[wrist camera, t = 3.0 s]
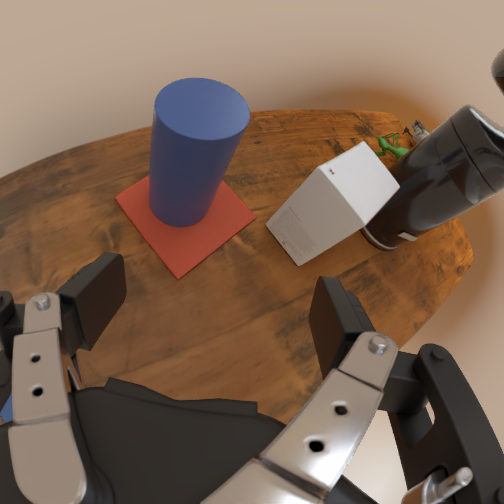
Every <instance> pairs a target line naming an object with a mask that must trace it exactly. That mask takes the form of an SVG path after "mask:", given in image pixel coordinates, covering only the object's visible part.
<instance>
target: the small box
mask: <svg viewBox="0 0 504 504" xmlns="http://www.w3.org/2000/svg"><path fill="white" fill-rule="evenodd" d="M399 188H400V186H399V184H398V183H397V182H396V180H395V179H394V177H393V176H392V175H391V173H390V172H389V171H388V170H387V168H386V167H385V166H384V164H383V163H382V162H381V161H380V160H379V158H378V157H377V156H376V155H375V153H374V152H373V151H372V150H371V149H370V147H369V146H368V145H367V144H366V143H365V142H363V141H362V142H361V143H359V144H358V145H357V146H355V147H353V148H352V149H350V150H348V151H346V152H345V153H343V154H341V155H339V156H337V157H336V158H334V159H332V160H330V161H328V162H326V163H324V164H322V165H320V166H318V167H317V168H316V169H315V170H314V171H313V172H312V173H311V174H310V176H309V177H308V178H307V179H306V180H305V181H304V182H303V183H302V184H301V185H300V186H299V187H298V189H297V190H296V191H295V192H294V193H293V194H292V195H291V196H290V197H289V198H288V199H287V200H286V201H285V203H284V204H283V205H282V206H281V207H280V208H279V209H278V210H277V211H276V213H275V214H274V215H273V216H272V217H271V218H270V219H269V220H268V222H267V223H266V224H265V225H266V226H267V228H268V229H269V230H270V231H271V233H272V234H273V235H274V236H275V238H276V239H277V240H278V242H279V243H280V244H281V245H282V246H283V248H284V249H285V250H286V252H287V253H288V254H289V255H290V257H291V258H292V259H293V260H294V262H295V263H296V264H297V266H301V265H302V264H304V263H306V262H308V261H309V260H311V259H312V258H314V257H316V256H317V255H319V254H321V253H322V252H324V251H326V250H327V249H329V248H331V247H332V246H334V245H335V244H337V243H339V242H340V241H342V240H343V239H345V238H347V237H348V236H350V235H351V234H353V233H355V232H356V231H358V230H359V229H361V228H363V227H364V226H366V225H367V224H368V223H369V221H370V220H371V219H372V218H373V217H374V216H375V215H376V214H377V213H378V212H379V211H380V209H381V208H382V207H383V206H384V205H385V204H386V203H387V202H388V201H389V199H390V198H391V197H392V196H393V195H394V194H395V193H396V192H397V190H398V189H399Z"/></svg>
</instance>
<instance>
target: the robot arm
mask: <svg viewBox="0 0 504 504" xmlns="http://www.w3.org/2000/svg"><path fill="white" fill-rule="evenodd" d="M491 73H492V77H493V80H494V81H495V83H496V85H497V86H498V88H499V89H500V91H501V92H502V94H503V95H504V48H503V49H502V50H501V51H500V52H499V53H498V54H497V55H496V57H495V58H494V60H493V62H492V66H491ZM387 170H388V171H389V172H390V173H391V175H392V176H393V177H394V179H395V180H396V182H397V183H398V184H399V186H400V188H399V189H398V190H397V192H396V193H395V194H394V195H393V196H392V197H391V198H390V199H389V201H388V202H387V203H386V204H385V205H384V206H383V207H382V208H381V209H380V211H379V212H378V213H377V214H376V215H375V216H374V217H373V218H372V219H371V220H370V221H369V223H368V224H367V225H366V226H364V227H363V228H361V231H362V233H363V234H364V235H365V237H366V238H367V239H368V240H369V241H370V242H371V243H372V244H373V245H375V246H376V247H378V248H380V249H382V250H386V251H390V250H393V249H396V248H398V247H399V246H401V245H402V244H404V243H406V242H408V241H415V240H417V239H418V238H416V237H418V236H420V235H422V234H424V233H426V232H428V231H430V230H432V229H434V228H436V227H438V226H440V225H442V224H444V223H445V222H447V221H449V220H451V219H453V218H455V217H457V216H458V215H460V214H462V213H464V212H466V211H468V210H469V209H471V208H473V207H475V206H477V205H478V204H480V203H482V202H483V201H485V200H487V199H489V198H490V197H492V196H493V195H495V194H497V193H498V192H500V191H502V190H504V127H502V126H500V125H499V124H497V123H496V122H494V121H493V120H491V119H490V118H489V117H488V116H486V115H485V114H484V113H483V112H481V111H480V110H479V109H477V108H476V107H474V106H472V105H469V104H468V105H464V106H462V107H461V108H459V109H458V110H457V111H456V112H455V113H453V114H452V115H451V116H450V117H449V118H448V119H446V120H445V121H444V122H443V123H442V124H441V125H439V126H438V127H437V128H436V129H434V130H433V131H432V132H431V133H430V134H429V135H427V136H426V137H425V138H424V139H422V140H421V141H420V142H419V143H418V144H416V145H415V146H414V147H413V148H411V149H410V150H409V151H408V152H406V153H405V154H404V155H403V156H401V157H400V158H399V159H398V160H397V161H395V162H394V163H393V164H392V165H390V166H389V167H388V168H387ZM126 291H127V289H126V280H125V270H124V260H123V257H122V255H121V254H114V253H106V252H105V253H103V254H102V255H101V256H100V257H98V258H97V259H96V260H95V261H94V262H92V263H90V264H88V265H86V266H84V267H83V268H81V269H80V270H79V271H78V272H77V274H75V275H74V276H72V277H71V279H69V280H68V281H67V282H66V283H65V284H64V285H63V286H61V287H60V288H59V289H58V290H57V291H56V292H55V293H54V292H41V293H38V294H35V295H34V296H32V297H31V298H30V299H29V300H28V301H27V303H26V304H14V301H13V297H12V294H11V293H10V292H8V291H0V346H1V348H2V350H1V351H0V413H1V411H2V409H3V407H4V405H5V404H6V402H7V400H8V399H9V397H10V395H11V394H12V407H13V420H12V421H9V422H7V423H5V424H2V425H0V504H378V503H377V502H376V501H375V500H373V499H372V498H371V497H369V496H368V495H367V494H366V493H364V492H363V491H362V490H361V489H359V488H358V487H357V486H356V485H354V484H353V483H352V482H351V481H350V480H348V479H347V478H346V477H345V476H344V475H342V473H343V471H344V470H345V468H346V467H347V465H348V463H349V461H350V460H351V458H352V456H353V454H354V453H355V451H356V449H357V448H358V446H359V444H360V442H361V440H362V439H363V437H364V434H365V433H366V430H367V429H368V427H369V425H370V423H371V421H372V419H373V417H374V415H375V413H376V410H383V411H387V413H388V416H389V420H390V423H391V427H392V430H393V433H394V437H395V440H396V445H397V448H398V452H399V456H400V460H401V464H402V468H403V472H404V476H405V480H406V485H407V490H408V492H407V493H406V494H405V495H404V497H403V499H402V502H401V504H504V454H503V451H502V449H501V447H500V444H499V442H498V440H497V438H496V436H495V433H494V431H493V429H492V427H491V425H490V423H489V421H488V419H487V417H486V415H485V413H484V411H483V409H482V407H481V405H480V403H479V402H478V399H477V398H476V396H475V394H474V392H473V390H472V389H471V387H470V385H469V383H468V382H467V380H466V378H465V377H464V375H463V373H462V371H461V370H460V368H459V367H458V365H457V363H456V362H455V360H454V358H453V357H452V355H451V354H450V353H449V352H448V351H447V350H446V349H445V348H443V347H441V346H439V345H436V344H425V345H423V346H422V347H421V348H420V350H419V352H418V354H417V355H416V354H411V353H406V352H401V351H398V347H397V344H396V343H395V342H394V340H393V339H391V338H390V337H389V336H387V335H385V334H383V333H380V332H376V330H375V329H374V327H373V325H372V323H371V321H370V319H369V318H368V316H367V314H366V313H365V310H364V309H363V307H362V305H361V303H360V301H359V300H358V298H357V297H356V296H355V295H354V294H352V293H351V292H350V291H347V290H344V288H343V286H342V284H341V282H340V281H339V279H338V278H334V277H323V276H320V277H319V278H318V280H317V283H316V288H315V292H314V296H313V300H312V304H311V308H310V313H309V324H310V328H311V332H312V336H313V340H314V344H315V348H316V352H317V356H318V360H319V364H320V368H321V372H322V377H323V382H322V383H321V385H320V386H319V387H318V389H317V390H316V391H315V392H314V394H313V395H312V396H311V397H310V399H309V400H308V401H307V402H306V404H305V405H304V406H303V407H302V408H301V410H300V411H299V412H298V413H297V414H296V415H295V417H294V418H293V419H292V420H291V421H290V422H289V424H288V425H285V424H284V423H282V422H281V421H278V420H276V419H274V418H272V417H269V416H267V415H264V414H261V413H257V402H252V401H239V400H228V399H219V398H218V399H204V400H182V401H181V400H175V399H172V398H169V397H167V396H165V395H162V394H160V393H158V392H156V391H153V390H151V389H149V388H147V387H145V386H142V385H138V384H134V383H130V382H126V381H122V380H118V379H115V378H111V377H109V379H108V381H107V383H106V385H105V387H90V388H85V385H84V381H83V377H82V372H81V368H80V364H79V359H78V355H77V353H76V351H77V349H78V348H81V349H84V350H88V351H91V349H92V347H93V346H94V344H95V343H96V341H97V340H98V338H99V337H100V335H101V334H102V332H103V331H104V329H105V328H106V327H107V325H108V324H109V322H110V321H111V319H112V318H113V316H114V315H115V314H116V312H117V311H118V309H119V308H120V307H121V305H122V304H123V302H124V300H125V297H126ZM428 402H430V404H431V407H432V409H433V411H434V415H435V420H434V424H432V422H431V419H430V417H429V414H428V412H427V409H426V407H425V406H426V404H427V403H428Z"/></svg>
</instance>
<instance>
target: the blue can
mask: <svg viewBox="0 0 504 504" xmlns="http://www.w3.org/2000/svg"><path fill="white" fill-rule="evenodd" d="M249 121H250V109H249V106H248V104H247V102H246V101H245V99H244V98H243V97H242V96H241V95H240V94H239V93H238V92H237V91H236V90H234V89H233V88H231V87H229V86H228V85H226V84H223V83H221V82H218V81H215V80H211V79H205V78H186V79H181V80H178V81H175V82H172V83H170V84H169V85H167V86H166V87H164V88H163V89H162V90H161V91H160V92H159V94H158V95H157V97H156V100H155V105H154V114H153V124H152V137H151V151H150V172H149V205H150V208H151V210H152V212H153V213H154V215H155V216H156V217H157V218H158V219H159V220H160V221H162V222H163V223H165V224H168V225H171V226H175V227H186V226H190V225H193V224H195V223H197V222H199V221H200V220H201V219H203V218H204V217H205V215H206V214H207V212H208V210H209V208H210V206H211V203H212V201H213V199H214V196H215V194H216V192H217V190H218V187H219V185H220V183H221V181H222V178H223V176H224V174H225V172H226V170H227V167H228V165H229V163H230V161H231V159H232V157H233V155H234V152H235V150H236V148H237V146H238V144H239V142H240V140H241V138H242V136H243V134H244V132H245V130H246V128H247V125H248V123H249Z"/></svg>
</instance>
